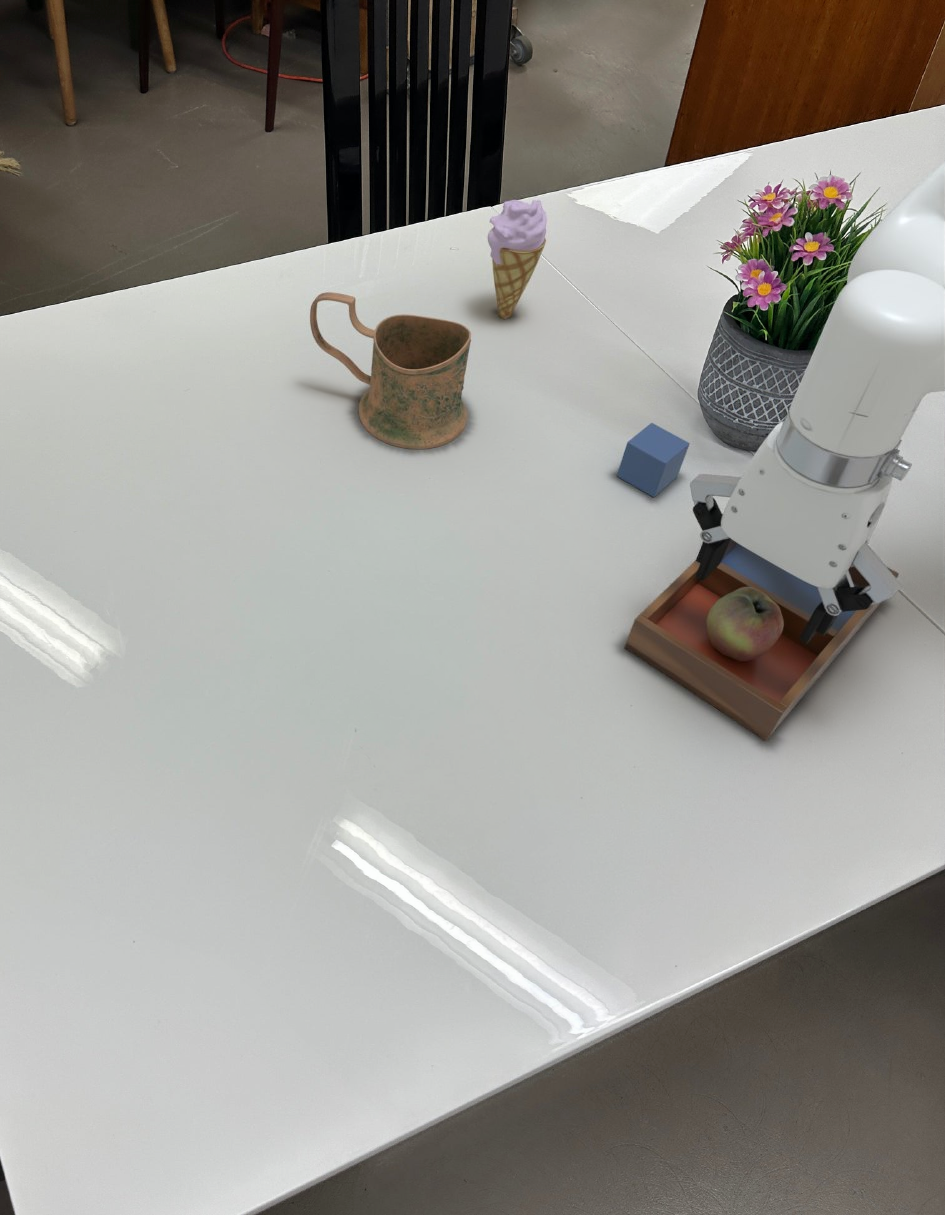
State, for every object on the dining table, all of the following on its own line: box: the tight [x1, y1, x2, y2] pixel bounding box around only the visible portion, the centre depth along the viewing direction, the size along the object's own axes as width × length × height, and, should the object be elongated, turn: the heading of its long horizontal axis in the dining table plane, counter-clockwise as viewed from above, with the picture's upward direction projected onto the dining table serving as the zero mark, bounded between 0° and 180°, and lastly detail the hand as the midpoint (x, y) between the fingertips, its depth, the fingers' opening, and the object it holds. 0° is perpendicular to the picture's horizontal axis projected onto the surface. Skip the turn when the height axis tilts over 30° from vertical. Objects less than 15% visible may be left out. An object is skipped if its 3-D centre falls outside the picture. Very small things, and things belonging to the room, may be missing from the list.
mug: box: [309, 291, 472, 450], centre depth 112 cm, size 12×18×12 cm, turn 70°
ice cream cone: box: [487, 199, 548, 320], centre depth 123 cm, size 7×6×15 cm
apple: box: [707, 587, 784, 661], centre depth 92 cm, size 6×8×6 cm
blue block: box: [616, 422, 691, 498], centre depth 109 cm, size 4×4×4 cm
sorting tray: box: [623, 539, 900, 742], centre depth 96 cm, size 22×14×4 cm, turn 137°
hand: (757, 601), depth 90 cm, fingers open, 9 cm apart
